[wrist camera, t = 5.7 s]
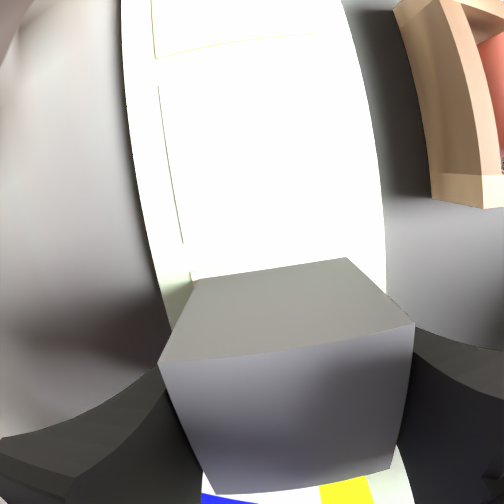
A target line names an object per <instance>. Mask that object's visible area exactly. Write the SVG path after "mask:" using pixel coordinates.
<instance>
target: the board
mask: <svg viewBox="0 0 504 504" xmlns="http://www.w3.org/2000/svg"><path fill="white" fill-rule="evenodd" d="M121 20H122V49H123V67H124V80H125V92H126V102H127V112H128V121H129V129H130V137H131V144H132V151H133V158H134V165H135V171H136V177H137V183H138V189H139V194H140V200H141V205H142V210H143V216H144V221H145V226H146V230H147V235H148V240H149V244H150V249H151V253H152V258H153V262H154V266H155V270H156V274H157V278H158V282H159V286H160V290H161V294H162V298H163V302H164V305H165V309H166V313H167V316H168V320H169V323H170V327H171V330H172V331H173V329H174V327H175V325H176V323H177V321H178V319H179V317H180V315H181V313H182V311H183V309H184V307H185V305H186V303H187V301H188V299H189V298H190V296H191V294H192V292H193V290H194V288H195V286H196V284H197V282H198V280H199V279H201V278H208V277H215V276H222V275H229V274H236V273H243V272H250V271H257V270H263V269H270V268H277V267H283V266H290V265H296V264H303V263H309V262H315V261H322V260H328V259H334V258H341V257H347V258H349V259H350V260H351V261H352V262H353V263H354V264H355V265H356V266H357V267H358V268H359V269H360V270H361V271H363V272H364V273H365V274H366V275H367V276H368V277H369V278H370V279H371V280H372V281H373V282H374V283H375V284H376V285H377V286H378V287H379V288H380V289H381V290H382V291H384V292H385V293H386V258H385V236H384V221H383V208H382V197H381V187H380V178H379V170H378V162H377V155H376V148H375V141H374V135H373V129H372V123H371V118H370V112H369V107H368V102H367V97H366V92H365V88H364V83H363V79H362V74H361V70H360V66H359V62H358V58H357V54H356V50H355V47H354V43H353V39H352V36H351V33H350V29H349V26H348V22H347V19H346V16H345V13H344V10H343V7H342V4H341V1H340V0H121Z"/></svg>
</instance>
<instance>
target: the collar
mask: <svg viewBox="0 0 504 504" xmlns="http://www.w3.org/2000/svg"><path fill="white" fill-rule="evenodd" d="M393 12H394V15H395V18H396V21H397V23H398V26H399V29H400V32H401V36H402V39H403V42H404V45H405V49H406V52H407V55H408V59H409V63H410V66H411V70H412V74H413V78H414V82H415V87H416V91H417V96H418V100H419V105H420V110H421V115H422V121H423V127H424V133H425V139H426V146H427V154H428V162H429V171H430V181H431V193H432V199H438V200H443V201H448V202H453V203H458V204H463V205H468V206H472V207H477V208H481V209H487V208H495V207H503V206H504V169H501V159H500V150H499V142H498V135H497V128H496V122H495V117H494V111H493V106H492V101H491V97H490V92H489V88H488V84H487V80H486V76H485V72H484V69H483V65H482V62H481V59H480V55H479V52H478V49H477V46H476V44H478V43H481V42H483V41H485V40H487V39H489V38H491V37H493V36H496V35H498V34H500V33H502V32H504V2H503V1H501V0H401V1H400V3H399V4H398V5H397V6H396V7H395V8H394V9H393Z"/></svg>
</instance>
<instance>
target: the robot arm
mask: <svg viewBox="0 0 504 504" xmlns="http://www.w3.org/2000/svg"><path fill="white" fill-rule="evenodd" d="M396 444H397V446H398V449H399V452H400V455H401V457H402V460H403V463H404V466H405V469H406V473H407V476H408V479H409V483H410V486H411V490H412V493H413V498H414V502H415V504H504V351H499V350H491V349H485V348H480V347H476V346H472V345H467V344H463V343H460V342H456V341H453V340H450V339H447V338H444V337H441V336H438V335H435V334H433V333H430V332H428V331H425V330H423V329H420V328H418V327H416V326H415V335H414V345H413V353H412V362H411V369H410V376H409V383H408V389H407V395H406V400H405V406H404V411H403V416H402V421H401V425H400V430H399V434H398V438H397V442H396ZM202 479H203V469H202V467H201V465H200V463H199V461H198V459H197V457H196V455H195V453H194V451H193V449H192V447H191V444H190V442H189V440H188V438H187V436H186V433H185V431H184V429H183V427H182V424H181V422H180V420H179V417H178V415H177V413H176V410H175V408H174V405H173V403H172V401H171V398H170V395H169V393H168V390H167V388H166V385H165V383H164V380H163V377H162V375H161V372H160V369H159V366H158V364H156V365H155V366H154V367H153V368H152V369H150V370H149V371H148V372H147V373H146V374H144V375H143V376H142V377H140V378H139V379H138V380H137V381H135V382H134V383H133V384H131V385H130V386H129V387H128V388H126V389H125V390H123V391H122V392H120V393H119V394H117V395H116V396H114V397H113V398H111V399H109V400H108V401H106V402H104V403H103V404H101V405H99V406H97V407H95V408H93V409H91V410H89V411H87V412H85V413H83V414H81V415H79V416H77V417H75V418H72V419H70V420H68V421H65V422H62V423H60V424H57V425H54V426H51V427H48V428H45V429H41V430H38V431H34V432H30V433H25V434H20V435H16V436H11V437H4V438H2V439H1V440H0V496H1V497H2V498H3V499H4V500H5V501H6V502H7V503H8V504H201V494H202Z"/></svg>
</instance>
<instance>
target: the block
mask: <svg viewBox="0 0 504 504" xmlns="http://www.w3.org/2000/svg"><path fill="white" fill-rule="evenodd" d="M414 335H415V322H414V321H413V320H412V319H411V318H410V317H409V316H408V315H407V314H406V313H405V312H404V311H403V310H402V309H401V308H400V307H399V306H398V305H397V304H396V303H395V302H394V301H393V300H392V299H391V298H390V297H389V296H388V295H387V294H386V293H385V292H384V291H382V290H381V289H380V288H379V287H378V286H377V285H376V284H375V283H374V282H373V281H372V280H371V279H370V278H369V277H368V276H367V275H366V274H365V273H364V272H363V271H361V270H360V269H359V268H358V267H357V266H356V265H355V264H354V263H353V262H352V261H351V260H350V259H349V258H347V257H341V258H334V259H328V260H322V261H315V262H309V263H303V264H296V265H290V266H283V267H277V268H270V269H263V270H257V271H250V272H243V273H236V274H229V275H222V276H215V277H208V278H201V279H199V280H198V282H197V284H196V286H195V288H194V290H193V292H192V294H191V296H190V298H189V299H188V301H187V303H186V305H185V307H184V309H183V311H182V313H181V315H180V317H179V319H178V321H177V323H176V325H175V327H174V329H173V331H172V333H171V335H170V338H169V340H168V342H167V344H166V346H165V348H164V350H163V352H162V354H161V356H160V358H159V360H158V362H157V364H158V366H159V369H160V372H161V375H162V377H163V380H164V383H165V385H166V388H167V390H168V393H169V395H170V398H171V401H172V403H173V405H174V408H175V410H176V413H177V415H178V417H179V420H180V422H181V424H182V427H183V429H184V431H185V433H186V436H187V438H188V440H189V442H190V444H191V447H192V449H193V451H194V453H195V455H196V457H197V459H198V461H199V463H200V465H201V467H202V469H203V471H204V473H205V475H206V477H207V479H208V481H209V483H210V485H211V487H212V489H213V491H214V492H215V494H216V495H236V494H255V493H268V492H278V491H287V490H295V489H302V488H308V487H314V486H320V485H325V484H331V483H335V482H340V481H345V480H349V479H353V478H357V477H361V476H365V475H369V474H373V473H376V472H380V471H383V470H386V469H390V465H391V462H392V458H393V454H394V450H395V446H396V442H397V438H398V434H399V430H400V425H401V421H402V416H403V411H404V406H405V400H406V395H407V389H408V383H409V376H410V369H411V362H412V353H413V345H414Z"/></svg>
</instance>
